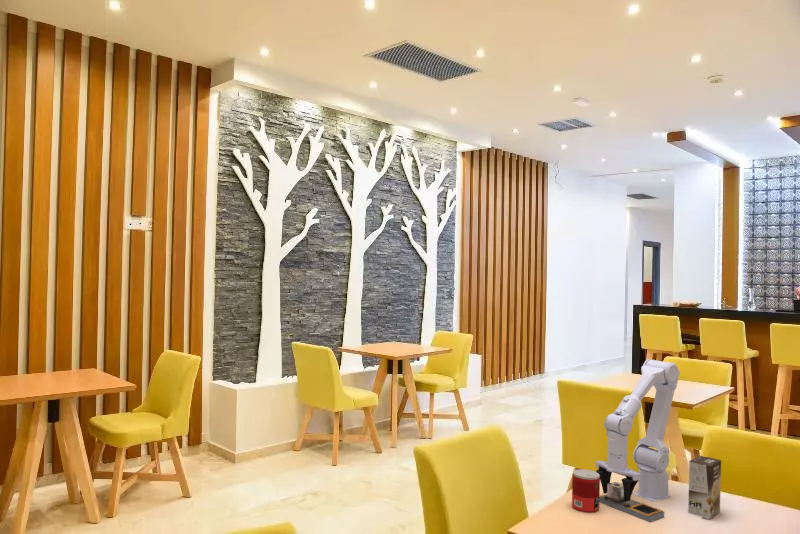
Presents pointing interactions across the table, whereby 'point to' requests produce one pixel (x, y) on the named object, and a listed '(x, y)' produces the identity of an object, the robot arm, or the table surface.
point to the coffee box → (704, 487)
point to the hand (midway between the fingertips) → (616, 496)
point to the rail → (635, 509)
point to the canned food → (585, 490)
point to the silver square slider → (615, 492)
